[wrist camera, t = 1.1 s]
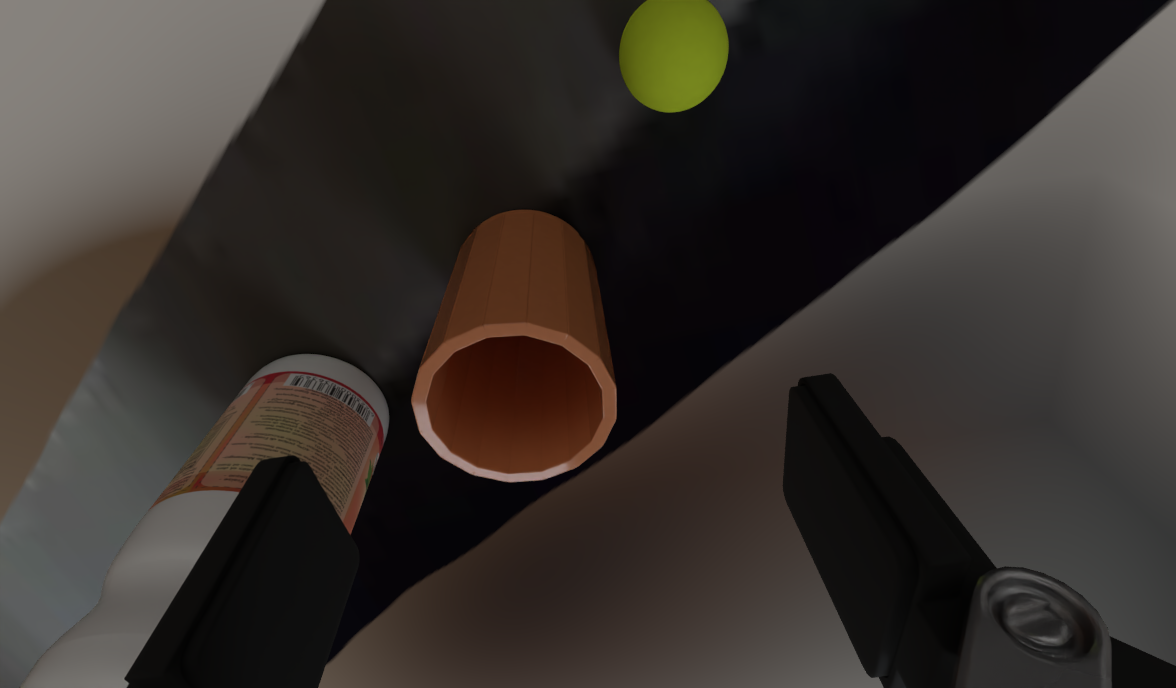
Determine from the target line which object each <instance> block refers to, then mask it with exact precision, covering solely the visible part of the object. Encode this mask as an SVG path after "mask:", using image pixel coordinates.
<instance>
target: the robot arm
mask: <svg viewBox="0 0 1176 688" xmlns="http://www.w3.org/2000/svg"><path fill="white" fill-rule="evenodd" d="M784 462H785V463H784V476H783V491H784V496H785V500H786V502H787V505H788V507H789V509H790V511H791V513H792V516H793V518H794V520H795V522H796V524H797V526H798V528H799V530H800V532H801V535H802V537H803V539H804V541H805V543H806V546H807V548H808V550H809V552H810V554H811V556H812V558H813V560H814V563H815V565H816V567H817V569H818V571H819V573H820V575H821V578H822V580H823V582H824V584H825V586H826V588H827V590H828V593H829V595H830V597H831V599H832V601H833V603H834V606H835V608H836V610H837V612H838V614H839V616H840V619H841V621H842V623H843V625H844V627H845V629H846V631H847V633H848V636H849V638H850V640H851V642H852V644H853V646H854V649H855V651H856V653H857V655H858V657H859V659H860V661H861V664H862V665H863V667H864V669H865V671H866V673H867V674H868V675H869V676H870V677H871V678H874V677H879V679H880V681H881V683H882V685H883V687H884V688H1176V666H1174V665H1172V664H1170V663H1167V662H1165V661H1163V660H1161V659H1159V658H1157V657H1154V656H1152V655H1150V654H1148V653H1146V652H1143V651H1141V650H1139V649H1137V648H1135V647H1132V646H1130V645H1128V644H1126V643H1123V642H1121V641H1119V640H1117V639H1114V638H1112V637H1110V636H1109V632H1108V627H1107V626H1106V624H1105V623H1104V621H1103V620H1102V618H1101V616H1100V615H1099V613H1098V611H1097V610H1096V609H1095V608H1094V607H1093V606H1092V605H1091V604H1090V603H1089V602H1088V601H1087V600H1086V599H1085V598H1084V597H1083V596H1082V595H1081V594H1079V593H1078V592H1076V591H1075V590H1073V589H1072V588H1070V587H1069V586H1067V585H1066V584H1065V583H1063V582H1061V581H1059V580H1057V579H1055V578H1053V577H1051V576H1048V575H1046V574H1044V573H1041V572H1038V571H1034V570H1030V569H1026V568H1019V567H1002V568H996V567H995V566H994V564H993V563H992V562H991V560H990V559H989V558H988V557H987V555H986V554H985V553H984V551H983V550H982V549H981V548H980V546H979V545H978V544H977V543H976V541H975V540H974V539H973V537H972V536H971V535H970V533H969V532H968V531H967V530H966V528H965V527H964V526H963V524H962V523H961V522H960V521H959V519H958V518H957V517H956V516H955V514H954V513H953V512H952V510H951V509H950V508H949V506H948V505H947V504H946V503H945V501H944V500H943V499H942V498H941V496H940V495H939V494H938V492H937V491H936V490H935V488H934V487H933V486H932V485H931V483H930V482H929V481H928V480H927V478H926V477H925V476H924V474H923V473H922V472H921V470H920V469H919V468H918V467H917V466H916V464H915V463H914V462H913V460H912V459H911V458H910V456H909V455H908V454H907V453H906V451H905V450H904V449H903V447H902V446H901V445H900V444H899V443H898V442H897V441H896V440H895V439H893V438H891V437H881V436H880V435H879V433H878V432H877V431H876V429H875V428H874V427H873V425H872V424H871V423H870V421H869V420H868V419H867V417H866V416H865V415H864V414H863V412H862V411H861V409H860V408H859V407H858V406H857V404H856V403H855V402H854V400H853V399H852V397H851V396H850V395H849V393H848V392H847V391H846V389H845V388H844V387H843V385H842V384H841V383H840V381H839V380H838V379H837V378H836V376H835V375H833V374H831V373H830V374H824V375H817V376H811V377H804V378H801V379H800V380H799V382H798V386H796V387H791V389H790V391H789V403H788V418H787V432H786V447H785V461H784ZM358 565H359V551H358V548H357V546H356V544H355V542H354V540H353V539H352V537H351V535H350V534H349V532H348V530H347V528H346V527H345V525H344V523H343V522H342V520H341V518H340V517H339V515H338V513H337V511H336V510H335V508H334V506H333V505H332V503H331V501H330V499H329V498H328V496H327V494H326V493H325V491H324V489H323V487H322V486H321V484H320V482H319V481H318V479H317V477H316V476H315V474H314V472H313V470H312V469H311V467H310V465H309V464H308V463H307V462H305V461H300V459H299V458H298V457H296V456H294V455H290V456H283V457H276V458H270V459H263V460H261V461H260V462H259V463H258V464H257V465H256V466H255V468H254V469H253V471H252V473H251V474H250V476H249V477H248V479H247V481H246V482H245V484H244V486H243V487H242V489H241V490H240V492H239V494H238V495H237V497H236V498H235V500H234V502H233V503H232V505H231V507H230V508H229V510H228V511H227V513H226V515H225V516H224V518H223V519H222V521H221V523H220V524H219V526H218V528H217V529H216V531H215V532H214V534H213V536H212V537H211V539H210V541H209V542H208V544H207V545H206V547H205V549H204V550H203V552H202V553H201V555H200V557H199V558H198V560H197V562H196V563H195V565H194V566H193V568H192V570H191V571H190V573H189V574H188V576H187V578H186V579H185V581H184V583H183V584H182V586H181V587H180V589H179V591H178V592H177V594H176V595H175V597H174V599H173V600H172V602H171V604H170V605H169V607H168V608H167V610H166V612H165V613H164V615H163V616H162V618H161V620H160V621H159V623H158V625H157V626H156V628H155V629H154V631H153V633H152V634H151V636H150V637H149V639H148V641H147V642H146V644H145V646H144V647H143V649H142V650H141V652H140V654H139V655H138V657H137V658H136V660H135V662H134V663H133V665H132V667H131V668H130V670H129V671H128V673H127V675H126V676H125V678H124V680H125V681H127V682H128V683H129V684H128V686H127V688H318V686H319V683H320V680H321V677H322V674H323V671H324V668H325V665H326V662H327V659H328V656H329V653H330V650H331V647H332V644H333V641H334V638H335V635H336V632H337V629H338V626H339V623H340V620H341V617H342V614H343V611H344V608H345V605H346V602H347V599H348V596H349V593H350V590H351V587H352V584H353V581H354V578H355V575H356V572H357V569H358Z"/></svg>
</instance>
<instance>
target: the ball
mask: <svg viewBox="0 0 1176 688" xmlns="http://www.w3.org/2000/svg"><path fill="white" fill-rule="evenodd" d="M727 58H728V36H727V31H726V28H725V25H724V22H723V20H722V18H721V16H720V14H719V13H718V11H717V10H716V8H715V7H714V6H713V5H712V4H711V3H710V2H709V1H707V0H647V1H645V2H644V3H643V4H642V5H641V6H640V7H639V8H638V9H637V10H636V11H635V12H634V13H633V15H632V16H631V17H630V19H629V21H628V23H627V24H626V27H625V29H624V31H623V34H622V38H621V42H620V48H619V63H620V69H621V73H622V76H623V79H624V81H625V84H626V86H627V87H628V89H629V91H630V92H631V93H632V95H633V96H634V97H635V98H636V99H637V100H638V101H639V102H641V103H642V104H644V105H645V106H647V107H649V108H651V109H653V110H657V111H661V112H679V111H683V110H687V109H689V108H692V107H694V106H695V105H697V104H699V103H700V102H702V101H703V100H704V99H705V98H706V97H707V96H709V95H710V93H711V92H712V91H713V90H714V89H715V87H716V86H717V84H718V83H719V81H720V79H721V77H722V75H723V72H724V70H725V67H726V63H727Z"/></svg>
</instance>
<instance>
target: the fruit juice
mask: <svg viewBox="0 0 1176 688" xmlns="http://www.w3.org/2000/svg"><path fill="white" fill-rule="evenodd" d="M388 426H389V410H388V406H387V402H386V400H385V397H384V395H383V393H382V392H381V390H380V389H379V387H378V386H377V385H376V384H375V382H374V381H373V380H372V379H371V378H370V377H368V376H367V375H366V374H365V373H364V372H362V371H361V370H359V369H358V368H356V367H354V366H352V365H351V364H349V363H346V362H344V361H342V360H339V359H336V358H333V357H329V356H324V355H317V354H297V355H291V356H286V357H283V358H280V359H277V360H275V361H273V362H271V363H269V364H268V365H266V366H264V367H263V368H262V369H260V370H259V371H258V372H257V373H256V374H255V375H254V376H253V377H252V378H251V379H250V380H249V381H248V382H247V384H246V385H245V386H244V388H243V389H242V390H241V391H240V393H239V394H238V395H237V397H236V398H235V399H234V401H233V402H232V403H231V404H230V406H229V407H228V408H227V410H226V411H225V412H224V413H223V415H222V416H221V417H220V419H219V420H218V421H217V423H216V424H215V425H214V426H213V428H212V429H211V430H210V432H209V433H208V434H207V436H206V437H205V438H204V439H203V441H202V442H201V443H200V445H199V446H198V447H197V449H196V450H195V451H194V452H193V454H192V455H191V456H190V458H189V459H188V460H187V461H186V463H185V464H184V465H183V467H182V468H181V469H180V471H179V472H178V473H177V475H176V476H175V477H174V478H173V480H172V481H171V482H170V484H169V485H168V486H167V488H166V489H165V490H164V491H163V493H162V494H161V495H160V497H159V498H158V499H157V500H156V502H155V503H154V504H153V506H152V507H151V508H150V509H149V510H148V512H147V513H146V514H145V515H144V517H143V518H142V519H141V520H140V521H139V523H138V524H137V525H136V527H135V528H134V530H133V531H132V533H131V534H130V535H129V537H128V538H127V540H126V541H125V543H124V544H123V546H122V547H121V549H120V550H119V552H118V554H117V555H116V557H115V558H114V560H113V562H112V564H111V565H110V567H109V569H108V571H107V574H106V576H105V579H104V582H103V586H102V591H101V596H100V599H99V601H98V603H97V604H96V606H95V607H94V608H93V610H92V611H90V612H89V613H88V614H87V615H86V616H85V617H83V618H82V619H81V620H80V621H79V622H78V623H76V624H75V625H74V626H73V627H72V628H70V629H69V630H68V631H67V632H66V633H65V634H63V635H62V636H61V637H60V638H59V639H58V640H57V641H56V642H55V643H54V644H53V645H52V646H51V647H50V648H49V649H48V650H47V651H46V652H45V653H44V654H43V655H42V656H41V657H40V659H39V660H38V661H37V662H36V664H35V665H34V667H33V668H32V670H31V671H30V673H29V674H28V676H27V677H26V679H25V680H24V682H23V683H22V685H21V686H20V688H127V686H128V684H129V683H128V682H127V681H125V680H124V678H125V676H126V675H127V673H128V671H129V670H130V668H131V667H132V665H133V663H134V662H135V660H136V658H137V657H138V655H139V654H140V652H141V650H142V649H143V647H144V646H145V644H146V642H147V641H148V639H149V637H150V636H151V634H152V633H153V631H154V629H155V628H156V626H157V625H158V623H159V621H160V620H161V618H162V616H163V615H164V613H165V612H166V610H167V608H168V607H169V605H170V604H171V602H172V600H173V599H174V597H175V595H176V594H177V592H178V591H179V589H180V587H181V586H182V584H183V583H184V581H185V579H186V578H187V576H188V574H189V573H190V571H191V570H192V568H193V566H194V565H195V563H196V562H197V560H198V558H199V557H200V555H201V553H202V552H203V550H204V549H205V547H206V545H207V544H208V542H209V541H210V539H211V537H212V536H213V534H214V532H215V531H216V529H217V528H218V526H219V524H220V523H221V521H222V519H223V518H224V516H225V515H226V513H227V511H228V510H229V508H230V507H231V505H232V503H233V502H234V500H235V498H236V497H237V495H238V494H239V492H240V490H241V489H242V487H243V486H244V484H245V482H246V481H247V479H248V477H249V476H250V474H251V473H252V471H253V469H254V468H255V466H256V465H257V464H258V463H259V462H260V461H261V460H263V459H270V458H276V457H283V456H290V455H294V456H296V457H298V458H299V459H300V461H305V462H307V463H308V464H309V465H310V467H311V469H312V470H313V472H314V474H315V476H316V477H317V479H318V481H319V482H320V484H321V486H322V487H323V489H324V491H325V493H326V494H327V496H328V498H329V499H330V501H331V503H332V505H333V506H334V508H335V510H336V511H337V513H338V515H339V517H340V518H341V520H342V522H343V523H344V525H345V527H346V528H347V530H348V532H349V534H351V532H352V529H353V526H354V524H355V521H356V518H357V515H358V513H359V510H360V507H361V504H362V502H363V499H364V496H365V494H366V491H367V488H368V485H369V483H370V480H371V477H372V474H373V472H374V469H375V466H376V463H377V461H378V458H379V455H380V452H381V450H382V447H383V444H384V441H385V439H386V436H387V431H388Z"/></svg>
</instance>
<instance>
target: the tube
mask: <svg viewBox="0 0 1176 688" xmlns="http://www.w3.org/2000/svg"><path fill="white" fill-rule="evenodd" d="M411 403H412V407H413V410H414V414H415V418H416V422H417V426H418V429H419V432H420V434H421V435H422V436H423V437H424V438H425V440H426V441H427V442H428V443H429V444H430V445H431V447H432V448H433V449H434V450H435V451H436V452H437V454H438V455H439V456H440V457H442V458H443V459H445V460H446V461H448V462H450V463H452V464H454V465H455V466H457V467H459V468H461V469H462V470H464V471H466V472H468V473H470V474H473V475H476V476H480V477H485V478H490V479H494V480H499V481H504V482H522V481H537V480H544V479H548V478H550V477H553V476H556V475H558V474H561V473H564V472H566V471H569V470H572V469H574V468H576V467H578V466H579V465H581V464H582V463H583V462H584V461H585V460H587V459H588V458H589V457H590V456H591V455H593V454H594V453H595V452H596V451H597V450H599V449H600V448H601V447H602V446H603V444H604V442H605V441H606V439H607V437H608V435H609V433H610V431H611V429H612V427H613V425H614V423H615V421H616V418H617V390H616V383H615V377H614V371H613V365H612V359H611V353H610V348H609V342H608V336H607V330H606V324H605V319H604V313H603V307H602V301H601V295H600V289H599V284H598V278H597V272H596V266H595V262H594V260H593V258H592V255H591V252H590V250H589V248H588V246H587V244H586V242H585V241H584V239H583V238H582V237H581V235H580V234H579V233H578V232H577V231H576V230H575V229H574V228H573V227H572V226H570V225H569V224H568V223H566V222H565V221H563V220H561V219H560V218H558V217H556V216H553V215H551V214H548V213H545V212H541V211H535V210H512V211H507V212H503V213H500V214H497V215H495V216H492V217H491V218H489V219H487V220H485V221H484V222H482V223H481V224H480V225H478V226H477V227H476V228H475V229H474V230H473V231H472V232H471V233H470V235H469V236H468V237H467V239H466V240H465V242H464V244H463V245H462V246H461V248H460V251H459V254H458V257H457V260H456V263H455V266H454V269H453V272H452V275H451V277H450V280H449V283H448V286H447V289H446V292H445V295H444V298H443V301H442V304H441V307H440V309H439V312H438V315H437V318H436V321H435V324H434V327H433V330H432V333H431V336H430V338H429V341H428V344H427V347H426V350H425V353H424V356H423V359H422V362H421V365H420V368H419V371H418V375H417V378H416V382H415V386H414V390H413V394H412V398H411Z"/></svg>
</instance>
